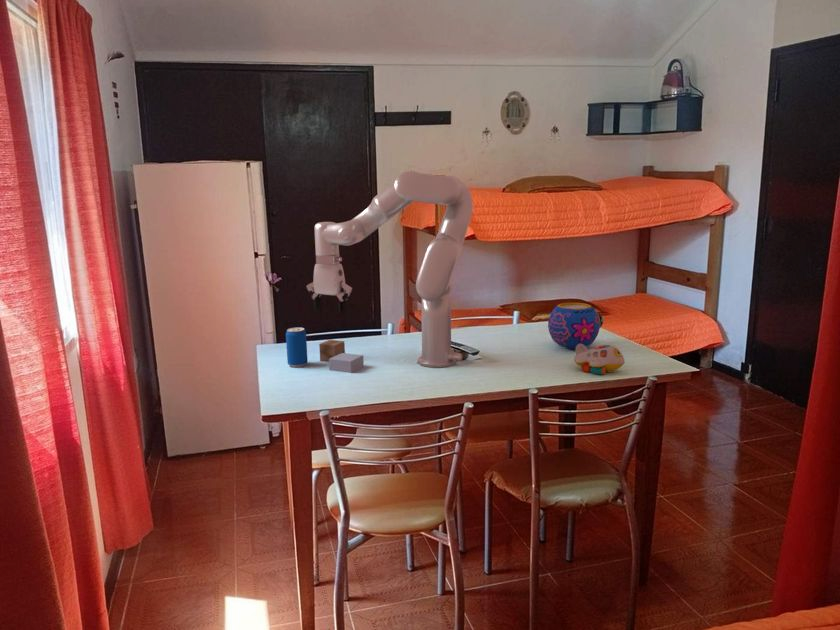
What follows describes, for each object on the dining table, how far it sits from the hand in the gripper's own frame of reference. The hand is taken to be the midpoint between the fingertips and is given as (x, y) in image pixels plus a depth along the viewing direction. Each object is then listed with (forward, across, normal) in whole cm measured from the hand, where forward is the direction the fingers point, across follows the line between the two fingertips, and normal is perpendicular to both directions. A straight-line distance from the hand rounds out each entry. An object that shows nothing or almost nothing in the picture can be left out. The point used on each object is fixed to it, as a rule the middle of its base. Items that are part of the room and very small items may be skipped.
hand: (330, 311), depth 222 cm
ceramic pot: (+16, -70, -46) cm, 86 cm away
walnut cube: (+17, 0, 0) cm, 17 cm away
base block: (+17, -10, +7) cm, 21 cm away
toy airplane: (+17, -84, -21) cm, 88 cm away
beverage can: (+17, +7, +10) cm, 21 cm away
